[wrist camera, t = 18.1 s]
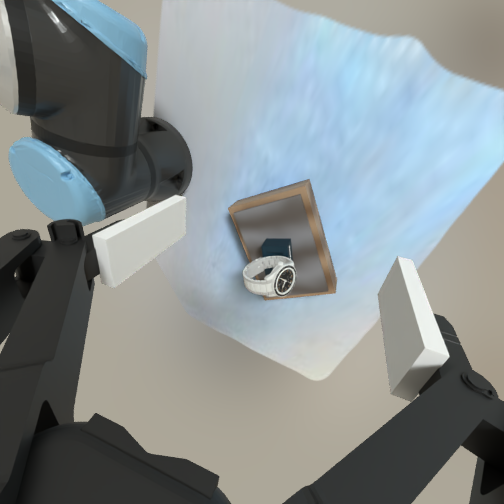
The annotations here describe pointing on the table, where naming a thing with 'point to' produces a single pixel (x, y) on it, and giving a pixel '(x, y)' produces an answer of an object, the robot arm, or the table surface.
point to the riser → (288, 235)
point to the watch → (272, 269)
